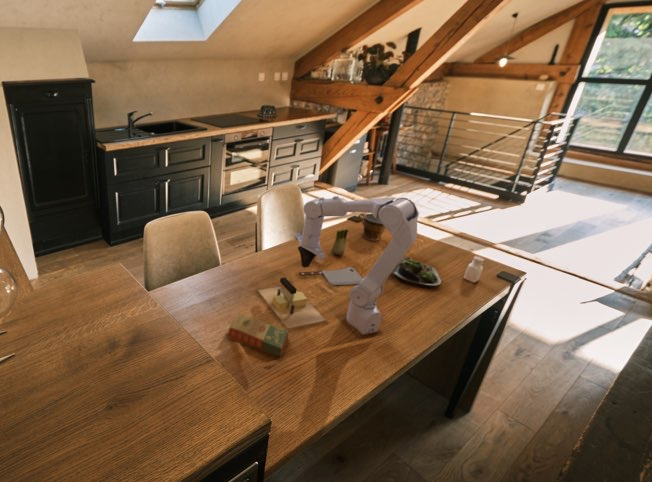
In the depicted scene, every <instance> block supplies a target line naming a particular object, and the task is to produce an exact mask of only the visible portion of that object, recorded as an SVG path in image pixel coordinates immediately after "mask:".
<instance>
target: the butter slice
mask: <svg viewBox="0 0 652 482" xmlns="http://www.w3.org/2000/svg"><path fill="white" fill-rule="evenodd" d="M272 304H273V305H274V306H275V307H276V309H277V310H278V311H281V310H286V308H287V301H286V300H285V299H284V298H283V297H282V295H279V296H273V303H272Z"/></svg>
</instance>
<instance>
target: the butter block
mask: <svg viewBox="0 0 652 482" xmlns="http://www.w3.org/2000/svg"><path fill="white" fill-rule="evenodd" d="M284 299H285V300H286V301H287V307H288V308H289V309H291V303H290V302H289V301H288V300H287V299H286V297H285V296H284ZM307 301H308V297H307V296H306V295H305V294H304V293H303V292H302V291H299V292H296V294H294V297H293V303H292V304H294V305H295V307H294V308H296V307H301V306H306V304H307Z"/></svg>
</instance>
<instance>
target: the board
mask: <svg viewBox="0 0 652 482" xmlns="http://www.w3.org/2000/svg"><path fill="white" fill-rule="evenodd" d="M280 289H281V285H280V286H273V287H268V288H262V289H257V292H258V293H259V294H260V295H261V297H262V298H263V299H264V300H265V301H266V303H267V304H268V305H269V306H270V308H271V310H272V311H273V312H274V313H275V314H276V315H277V317H278V318H279V319H280V320H281V322H282V323H283V324H284V325H285V327H286V328H287V329H292V328H298V327H303V326H307V325H310V324H316V323H321V322H326V321H327V320H326V319H325V318H324V317H323V315H321V314H320V312H319V311H318V310H317V309H316V308H315V307H314V306H313V305H312V304H311V303H310V302H309V301H308V300H307V304H306V306H301V307H296V308H294V307H295V305H294V304H291V309H289V308H288V307H287V308H286V310H281V311H278V310H277V309H276V307H275V306H274V305H273V304H272V303H273V296H279V295H282V297H283V298H284V295H283V294H282V293H281V292H280ZM296 292H300V291H299V289H297V291H296Z"/></svg>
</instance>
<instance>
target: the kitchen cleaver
mask: <svg viewBox="0 0 652 482" xmlns="http://www.w3.org/2000/svg"><path fill="white" fill-rule="evenodd" d="M298 275H299V276H301V277H305V276H316V275H317V276H319V275H320V276H322V277H323V278H324V279H326V280H327V282H329V283H330V284H331V285H332V286H350V285H358V284H359V283H360V282H361V281H362V280H363V279H364V277H362V276H361V275H360V273H359V272H358V271H357V270H356V269H355V268H354V267H352V266H347V267H345V268H341V269H334V270H320V271H319V270H318V271H300V272H298Z"/></svg>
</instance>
